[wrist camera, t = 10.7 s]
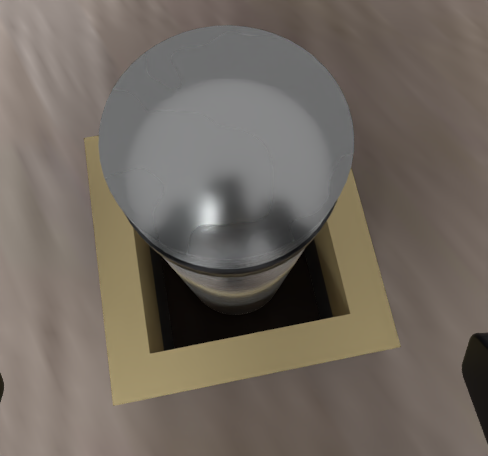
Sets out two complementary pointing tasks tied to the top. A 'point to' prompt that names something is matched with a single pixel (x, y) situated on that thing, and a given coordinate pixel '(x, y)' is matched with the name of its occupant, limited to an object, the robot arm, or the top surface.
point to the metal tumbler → (227, 157)
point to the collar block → (241, 347)
